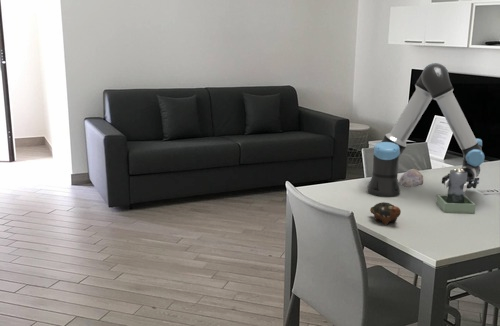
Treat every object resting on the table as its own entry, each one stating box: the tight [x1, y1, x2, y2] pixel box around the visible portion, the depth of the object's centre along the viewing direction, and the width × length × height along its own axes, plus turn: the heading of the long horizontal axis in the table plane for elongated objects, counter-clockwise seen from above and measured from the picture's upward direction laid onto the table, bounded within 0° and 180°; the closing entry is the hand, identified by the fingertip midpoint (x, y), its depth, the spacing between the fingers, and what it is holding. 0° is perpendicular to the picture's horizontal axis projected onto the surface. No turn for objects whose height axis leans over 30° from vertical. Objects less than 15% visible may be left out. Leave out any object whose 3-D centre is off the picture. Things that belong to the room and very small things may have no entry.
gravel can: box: [447, 167, 468, 204], centre depth 230 cm, size 7×7×16 cm
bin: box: [435, 194, 476, 215], centre depth 232 cm, size 13×13×4 cm
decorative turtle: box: [369, 201, 402, 226], centre depth 214 cm, size 10×15×8 cm, turn 36°
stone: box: [398, 168, 424, 188], centre depth 272 cm, size 17×10×10 cm
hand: (454, 186), depth 226 cm, fingers closed on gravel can, 7 cm apart
